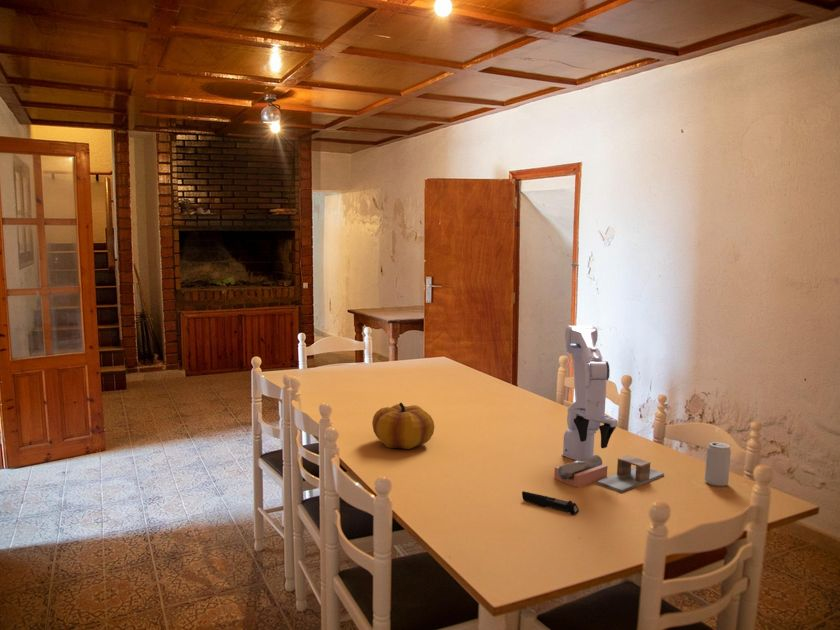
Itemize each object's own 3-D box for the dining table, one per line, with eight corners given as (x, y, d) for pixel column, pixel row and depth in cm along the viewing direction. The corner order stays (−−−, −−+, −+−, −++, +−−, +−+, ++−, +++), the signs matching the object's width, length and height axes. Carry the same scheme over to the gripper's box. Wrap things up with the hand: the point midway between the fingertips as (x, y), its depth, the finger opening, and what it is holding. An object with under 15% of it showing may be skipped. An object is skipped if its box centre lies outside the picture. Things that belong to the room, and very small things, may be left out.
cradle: (554, 478, 193) (554, 467, 193) (583, 468, 202) (584, 457, 202) (577, 487, 187) (578, 476, 186) (606, 476, 195) (607, 465, 195)
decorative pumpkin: (428, 456, 212) (429, 411, 210) (363, 451, 216) (364, 407, 214) (439, 437, 231) (439, 396, 229) (379, 433, 235) (379, 393, 234)
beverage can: (708, 477, 196) (710, 439, 195) (730, 483, 192) (733, 444, 190) (701, 483, 191) (704, 444, 190) (724, 489, 187) (727, 449, 186)
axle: (568, 481, 187) (569, 468, 187) (557, 477, 191) (558, 464, 190) (602, 469, 197) (602, 456, 197) (591, 465, 200) (591, 453, 200)
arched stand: (596, 483, 190) (597, 464, 189) (639, 467, 204) (640, 450, 203) (621, 492, 183) (622, 473, 183) (663, 475, 197) (665, 457, 196)
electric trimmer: (525, 499, 179) (525, 488, 179) (579, 511, 171) (579, 500, 171) (519, 503, 176) (519, 492, 176) (574, 517, 168) (574, 505, 167)
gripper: (567, 397, 198) (566, 440, 200) (608, 407, 187) (605, 453, 189) (582, 394, 202) (580, 436, 204) (622, 404, 191) (619, 448, 193)
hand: (593, 444), depth 197 cm, fingers open, 7 cm apart
